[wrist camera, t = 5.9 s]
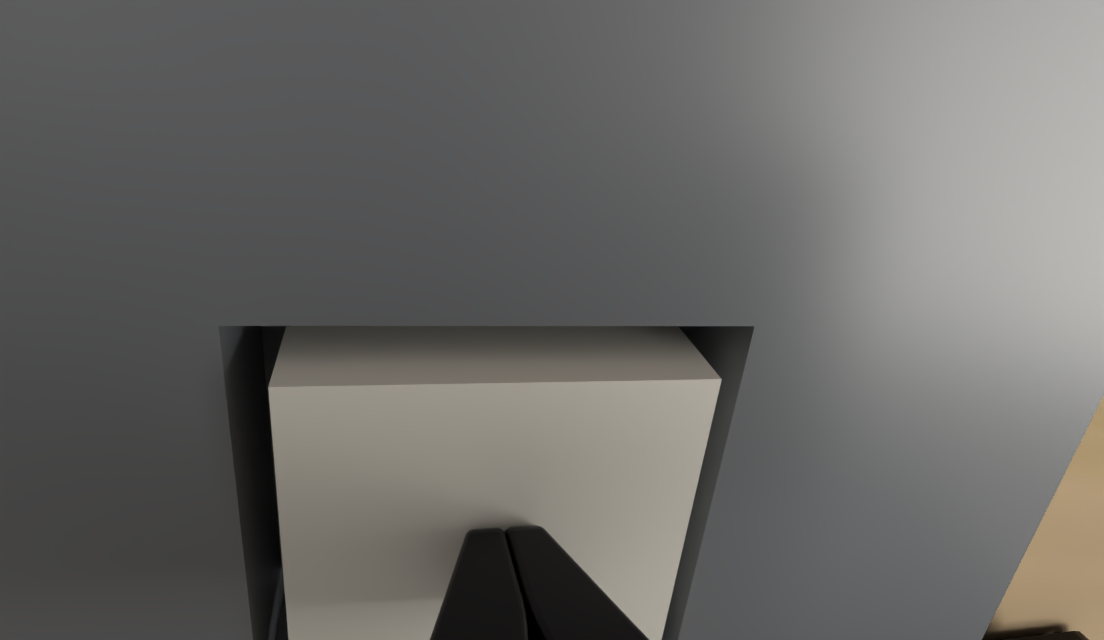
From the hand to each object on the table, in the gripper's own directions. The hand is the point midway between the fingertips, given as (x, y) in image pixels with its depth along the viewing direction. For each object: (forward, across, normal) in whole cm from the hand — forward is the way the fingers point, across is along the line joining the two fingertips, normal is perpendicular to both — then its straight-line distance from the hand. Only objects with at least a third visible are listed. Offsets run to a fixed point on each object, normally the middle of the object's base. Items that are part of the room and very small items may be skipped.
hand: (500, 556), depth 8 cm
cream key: (+2, 0, 0) cm, 2 cm away
